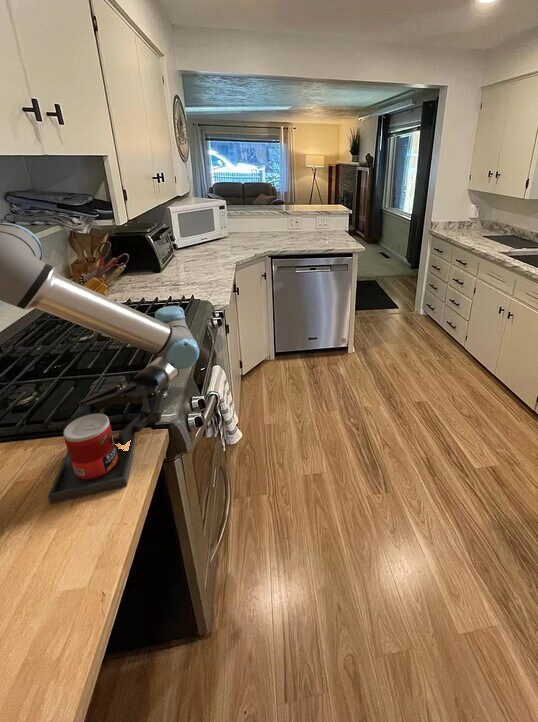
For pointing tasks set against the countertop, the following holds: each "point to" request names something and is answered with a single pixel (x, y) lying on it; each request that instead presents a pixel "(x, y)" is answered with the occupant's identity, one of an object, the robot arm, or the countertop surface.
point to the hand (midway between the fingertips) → (92, 435)
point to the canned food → (91, 446)
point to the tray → (74, 487)
